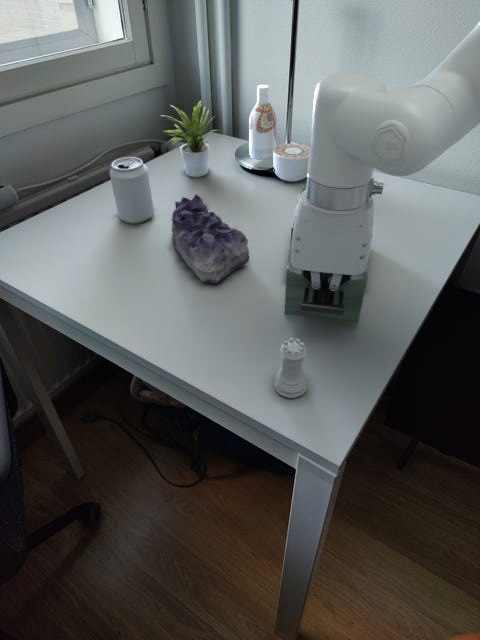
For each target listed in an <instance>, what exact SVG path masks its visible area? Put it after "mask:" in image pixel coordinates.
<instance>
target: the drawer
mask: <svg viewBox="0 0 480 640" xmlns="http://www.w3.org/2000/svg"><path fill="white" fill-rule="evenodd" d="M288 265H289V263H288V264H287V267H286V276H285V277H286V278H285V294H284V295H285V296H284V298H285V299H284V309H283V310H284V311H283V312H284V313H283V314H284V315H285V316H294V317H301V318H310V319H319V320H326V321H335V322H343V323H351V324H359V320H360V315H361V311H362V307H363V302H364V301H363V300H364V296H365V291H366V286H367V282H368V276H367V277H366V278H365V279H357V280H352V279H351V280H349V281H347V282H346V283H344V284H342V285H341V286H339V287H338V289H337V290H336V291H335V295H334V301H333V305H331V304H323V300H324V293H323V300H322V303H314V302H312V300H313V291H314V288H313V287H312V284H311V283H310V282H309V281H308V280H307V279H306V278H305V277H304V276H303V275H302V274H297V273H294V272H291V271H289V270H288ZM330 275H331V273H326V272H322V276H323V277H324V280H325V284H324V292H325V285H326V280H328V278H329V277H330Z"/></svg>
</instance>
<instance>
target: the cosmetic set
mask: <svg viewBox="0 0 480 640" xmlns="http://www.w3.org/2000/svg"><path fill="white" fill-rule="evenodd" d="M248 119H249V121H248V128H249V129H248V131H249V132H248V140H249V141H248V149H249V151H248V153H249V155H250V157H251V158H253V159H257V160H266V159H271V158H273V167H274V169H275V172H274V174H275V175H276V176H277V177H278V178H279V179H281V180H282V181H285V182H298V181H301V180H303V179H306V178H307V174H308V163H309V151H310V146H308V145H306V144H302V143H294V142H293V143H283V144H280V145H277V115H276V111H275V109H274V108H273V106H272V105H271V103H270V86H269V85H267V84H259V85H258V86H257V88H256V102H255V105H254V107H253V108H252V110H251V112H250V115H249V118H248ZM249 155H248V156H249ZM274 169H273V170H274Z"/></svg>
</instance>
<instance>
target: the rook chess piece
mask: <svg viewBox="0 0 480 640" xmlns="http://www.w3.org/2000/svg"><path fill="white" fill-rule="evenodd" d="M280 353H281V361H282V365H281V368H280V369H279V370H278V371H277V372H276V374H275V377H274V382H273V386H274V390H275V391H276V392H277V393H278V394H279V395H281V396H283V397H284V398H288V399H293V398H298V397H300V396H302V395H303V394H305V392H306V390H307V389H308V379H307V376H306V373H305V372H304V370H303V365H302V364H304V359H305V358H304V357H306V355H307V348H306V346H305V344H304V342H303V341H301V339H300V338H296V339H295V340H294V337H290V338H288V340H285V341H284V342H283V344H282V345H281V346H280Z"/></svg>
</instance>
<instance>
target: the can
mask: <svg viewBox="0 0 480 640" xmlns="http://www.w3.org/2000/svg"><path fill="white" fill-rule="evenodd" d="M110 166H111V168H110V170H109V172H108V173H109V177H110V182H111V187H112V191H113V196H114V200H115V201H114V202H115V206H116V210H117V211H116V212H117V215H118V218H119V219H121V220H122V221H124V222H126V223H128V224H141V223H144V222H147V221H148V220H149V219H150V218H151V217H152V216H153V215H154V213H155V209H154V203H153V202H154V201H153V196H152V195H153V194H152V190H151V183H150V176H149V170H148V167H147V165H145V164H144V161H143V160H142V159H141V157H137V156H125V157H120V158H116V159H115V160H113V161H112V162H111V164H110Z"/></svg>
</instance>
